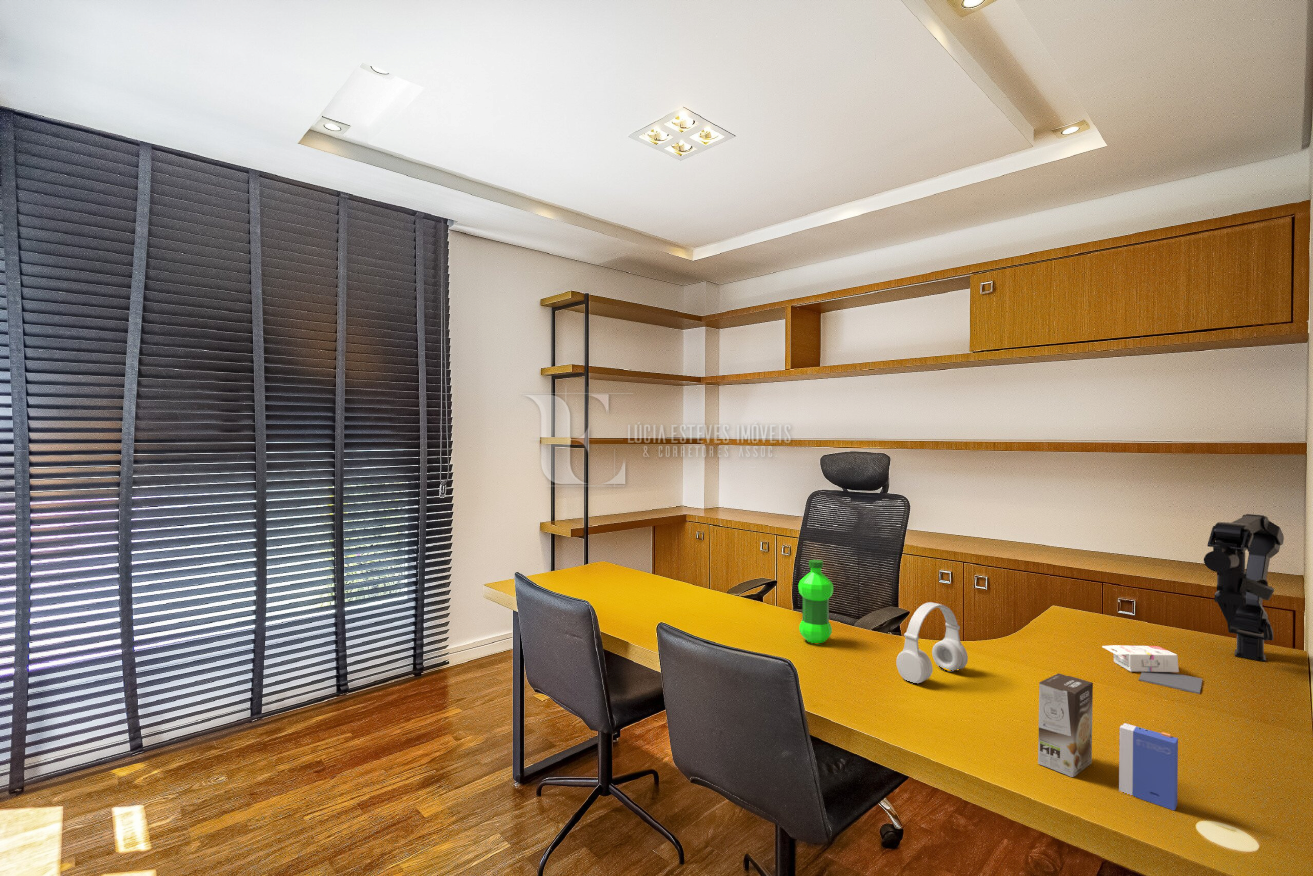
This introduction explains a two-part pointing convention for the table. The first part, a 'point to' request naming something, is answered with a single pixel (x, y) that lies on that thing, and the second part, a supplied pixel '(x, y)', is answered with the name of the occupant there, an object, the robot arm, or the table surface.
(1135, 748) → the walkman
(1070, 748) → the coffee box
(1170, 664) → the ink cartridge box
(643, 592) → the table surface
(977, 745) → the table surface
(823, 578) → the plastic bottle
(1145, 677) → the mat
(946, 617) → the headphones
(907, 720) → the table surface
